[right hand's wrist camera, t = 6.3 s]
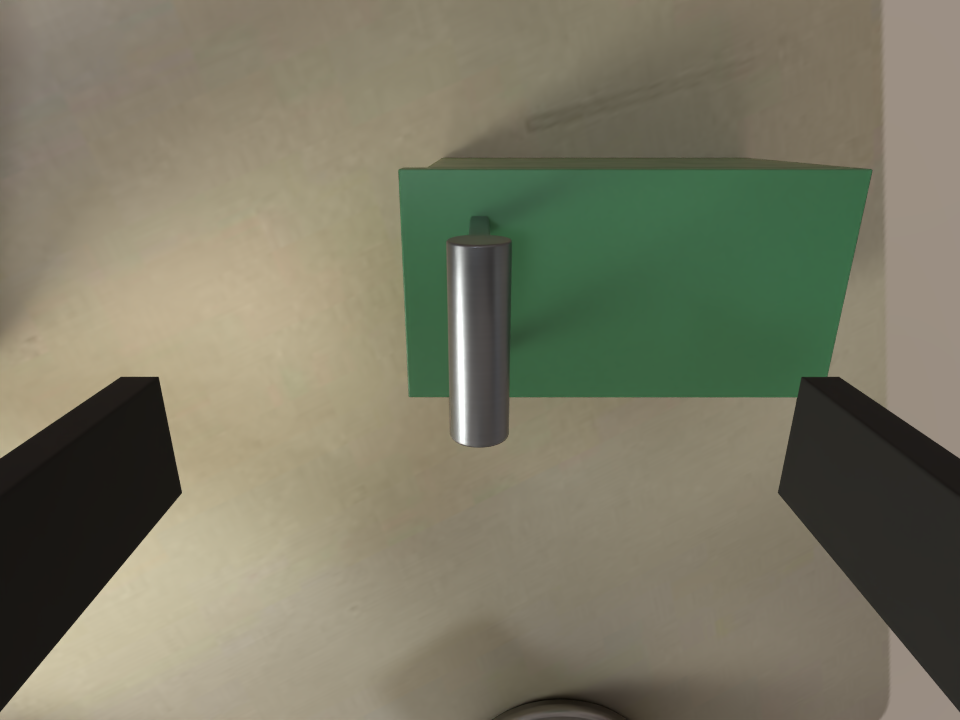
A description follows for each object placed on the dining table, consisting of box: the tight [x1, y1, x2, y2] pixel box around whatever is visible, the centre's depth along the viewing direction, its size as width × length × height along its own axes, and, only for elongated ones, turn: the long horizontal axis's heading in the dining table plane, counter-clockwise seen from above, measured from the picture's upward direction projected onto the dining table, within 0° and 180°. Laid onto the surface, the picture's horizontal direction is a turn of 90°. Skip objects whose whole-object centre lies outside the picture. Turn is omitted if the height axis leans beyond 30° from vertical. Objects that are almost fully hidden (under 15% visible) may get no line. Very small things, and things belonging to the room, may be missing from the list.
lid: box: [398, 168, 872, 447], centre depth 21 cm, size 18×9×8 cm, turn 90°
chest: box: [428, 158, 850, 168], centre depth 30 cm, size 17×9×10 cm, turn 90°
